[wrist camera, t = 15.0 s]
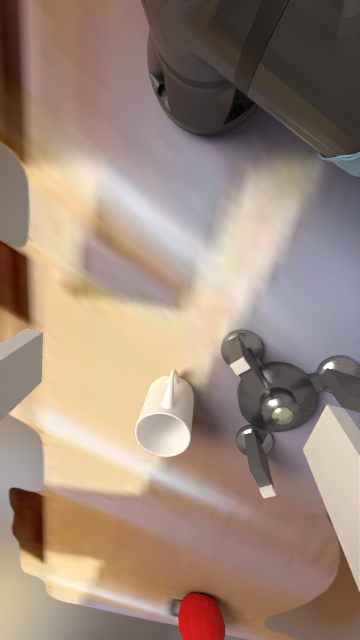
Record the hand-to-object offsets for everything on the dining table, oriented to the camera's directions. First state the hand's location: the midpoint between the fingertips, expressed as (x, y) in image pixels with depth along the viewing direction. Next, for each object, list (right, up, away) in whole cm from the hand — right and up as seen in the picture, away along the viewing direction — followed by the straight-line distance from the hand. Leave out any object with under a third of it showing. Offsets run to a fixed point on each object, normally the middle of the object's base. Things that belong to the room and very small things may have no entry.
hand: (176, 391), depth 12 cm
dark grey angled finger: (+14, -20, +38) cm, 46 cm away
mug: (-1, -9, +38) cm, 39 cm away
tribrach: (+17, -12, +36) cm, 42 cm away
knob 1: (+10, -2, +32) cm, 34 cm away
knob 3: (+27, -6, +32) cm, 42 cm away
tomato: (+6, -73, +61) cm, 96 cm away
